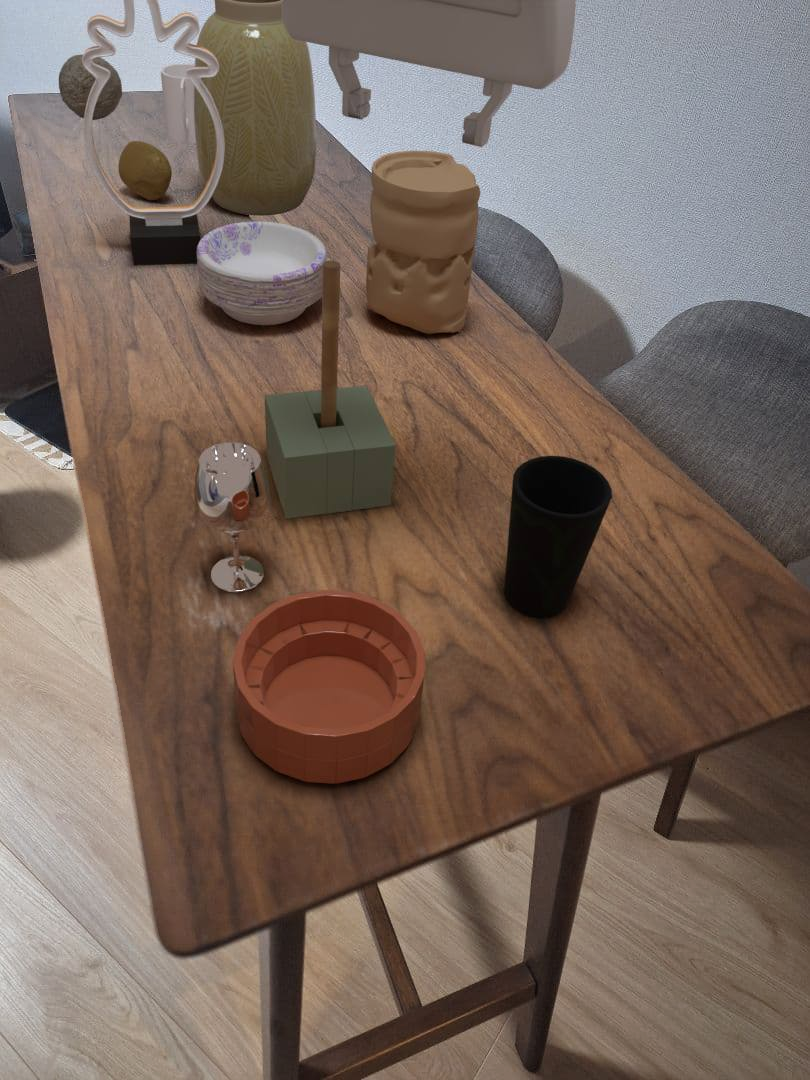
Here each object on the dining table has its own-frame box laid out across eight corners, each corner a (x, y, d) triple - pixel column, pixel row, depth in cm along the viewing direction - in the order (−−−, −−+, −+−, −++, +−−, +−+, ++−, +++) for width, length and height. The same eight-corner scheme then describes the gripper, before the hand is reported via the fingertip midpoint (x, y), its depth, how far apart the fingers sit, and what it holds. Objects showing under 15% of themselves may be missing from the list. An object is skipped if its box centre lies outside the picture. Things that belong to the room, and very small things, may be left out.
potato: (122, 188, 137) (114, 133, 132) (174, 188, 138) (169, 133, 133) (120, 207, 132) (112, 150, 126) (174, 207, 133) (169, 150, 128)
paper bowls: (306, 347, 106) (306, 284, 101) (181, 326, 108) (175, 262, 102) (339, 290, 117) (341, 230, 112) (226, 272, 119) (222, 212, 114)
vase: (185, 183, 140) (168, -19, 122) (290, 172, 147) (288, -21, 129) (221, 228, 129) (208, 13, 111) (333, 214, 135) (338, 9, 118)
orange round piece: (254, 806, 61) (251, 753, 57) (226, 659, 70) (221, 605, 66) (441, 766, 64) (449, 714, 60) (390, 631, 74) (395, 578, 70)
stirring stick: (321, 485, 87) (325, 268, 73) (318, 476, 88) (321, 260, 74) (335, 483, 88) (342, 267, 73) (332, 474, 89) (338, 259, 74)
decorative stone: (62, 126, 155) (51, 62, 148) (66, 110, 161) (55, 48, 154) (125, 127, 157) (117, 63, 150) (126, 111, 163) (118, 49, 156)
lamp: (227, 234, 128) (211, -29, 107) (233, 261, 121) (218, -11, 100) (102, 237, 124) (61, -34, 103) (101, 266, 118) (57, -16, 97)
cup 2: (598, 596, 79) (631, 487, 71) (545, 641, 74) (574, 530, 66) (527, 551, 82) (551, 443, 74) (473, 592, 78) (492, 481, 70)
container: (442, 288, 120) (457, 147, 108) (481, 335, 111) (502, 187, 99) (351, 298, 116) (356, 153, 104) (384, 347, 107) (394, 195, 95)
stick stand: (285, 519, 83) (284, 457, 78) (266, 455, 90) (264, 394, 86) (391, 505, 86) (396, 444, 81) (364, 444, 93) (367, 385, 88)
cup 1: (161, 149, 150) (154, 84, 143) (169, 125, 159) (163, 62, 152) (211, 152, 151) (207, 86, 144) (217, 127, 160) (213, 65, 153)
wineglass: (267, 600, 75) (262, 486, 67) (197, 595, 75) (184, 480, 67) (275, 553, 80) (272, 440, 72) (209, 548, 79) (198, 435, 71)
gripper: (261, -121, 57) (266, 111, 66) (573, -73, 52) (532, 172, 61) (309, -128, 62) (308, 91, 71) (601, -84, 57) (559, 146, 66)
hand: (414, 129), depth 66 cm, fingers open, 8 cm apart
